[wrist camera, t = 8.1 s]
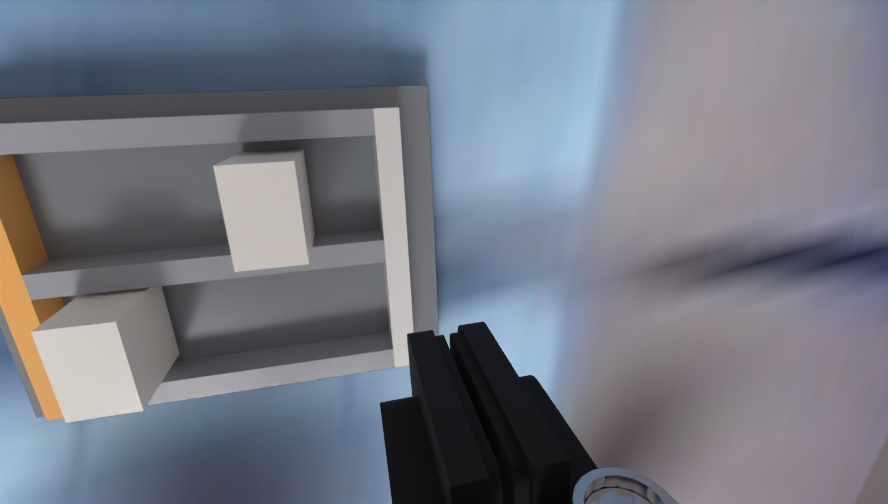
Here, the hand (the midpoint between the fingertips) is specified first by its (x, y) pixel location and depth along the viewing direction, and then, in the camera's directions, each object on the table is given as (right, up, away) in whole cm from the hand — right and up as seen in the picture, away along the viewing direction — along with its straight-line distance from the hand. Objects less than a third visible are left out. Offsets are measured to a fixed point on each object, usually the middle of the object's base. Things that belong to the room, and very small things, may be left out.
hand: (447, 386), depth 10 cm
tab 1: (-16, -1, +13) cm, 21 cm away
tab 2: (-8, +6, +13) cm, 16 cm away
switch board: (-12, +3, +15) cm, 20 cm away
